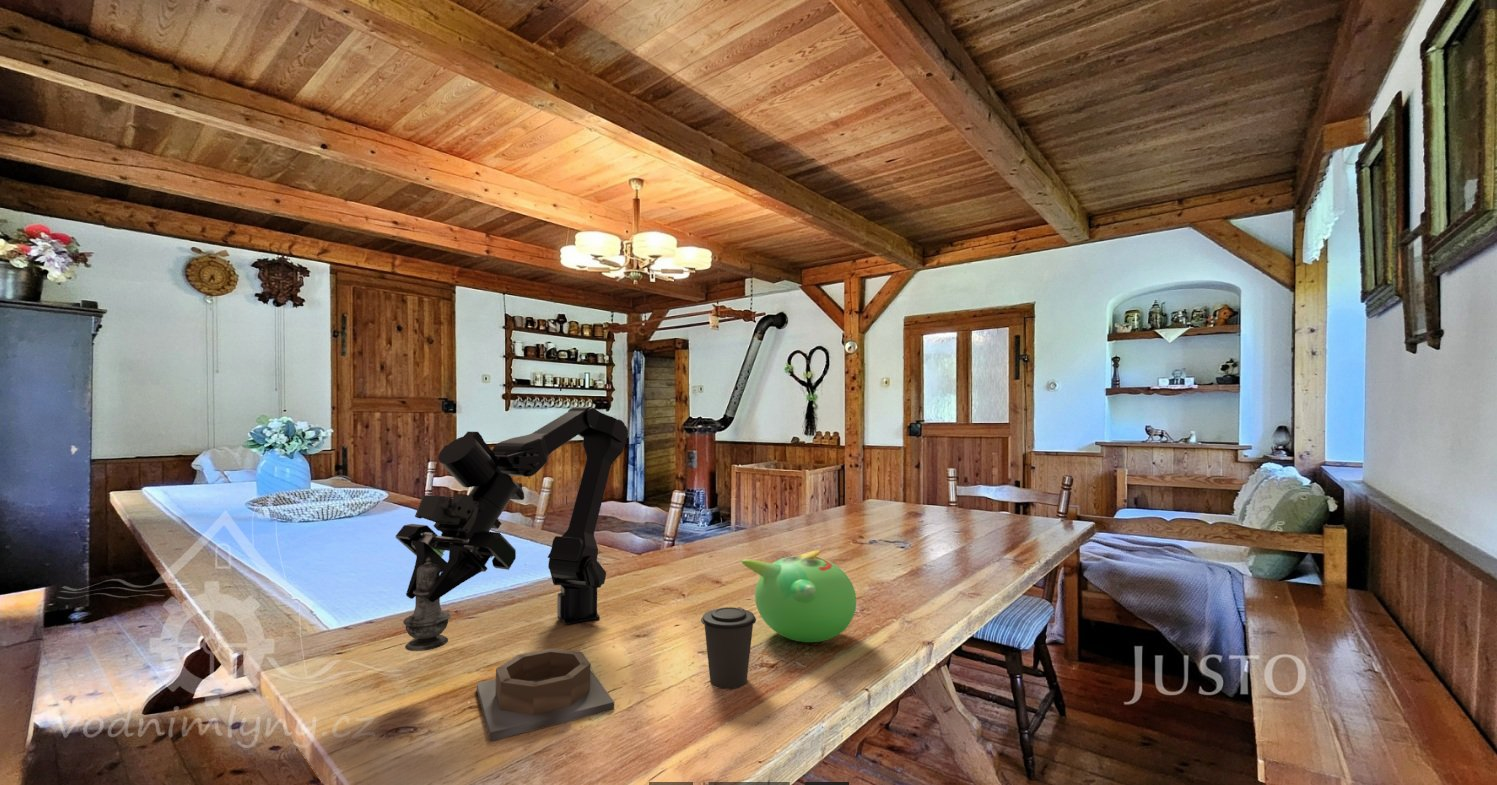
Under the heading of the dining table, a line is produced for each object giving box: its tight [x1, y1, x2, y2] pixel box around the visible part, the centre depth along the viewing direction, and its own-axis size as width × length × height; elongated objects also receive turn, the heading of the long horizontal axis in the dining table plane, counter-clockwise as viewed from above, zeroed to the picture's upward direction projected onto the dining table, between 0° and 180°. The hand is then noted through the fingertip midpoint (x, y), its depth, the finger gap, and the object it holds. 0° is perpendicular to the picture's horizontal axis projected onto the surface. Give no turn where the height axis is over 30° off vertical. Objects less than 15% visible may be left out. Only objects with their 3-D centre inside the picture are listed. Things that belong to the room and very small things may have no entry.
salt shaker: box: [402, 557, 452, 652], centre depth 83 cm, size 6×6×12 cm
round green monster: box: [741, 549, 857, 643], centre depth 103 cm, size 18×17×15 cm
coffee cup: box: [700, 606, 757, 690], centre depth 86 cm, size 8×8×10 cm
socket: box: [476, 647, 615, 742], centre depth 80 cm, size 15×15×4 cm
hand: (419, 598), depth 81 cm, fingers closed on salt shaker, 4 cm apart
